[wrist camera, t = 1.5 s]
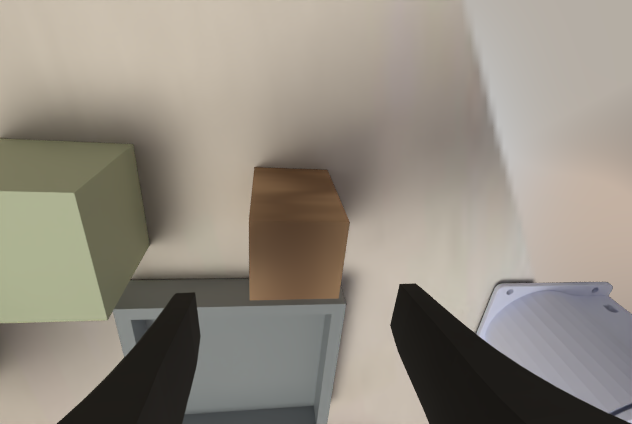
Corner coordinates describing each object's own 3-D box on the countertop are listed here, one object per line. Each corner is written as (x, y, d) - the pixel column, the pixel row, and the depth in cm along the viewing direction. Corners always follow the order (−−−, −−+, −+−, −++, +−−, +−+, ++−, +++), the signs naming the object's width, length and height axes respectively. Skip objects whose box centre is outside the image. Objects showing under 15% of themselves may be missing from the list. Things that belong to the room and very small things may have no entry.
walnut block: (327, 169, 19) (349, 222, 14) (320, 231, 21) (338, 298, 16) (254, 167, 18) (248, 220, 13) (254, 230, 20) (249, 300, 15)
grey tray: (338, 277, 23) (346, 303, 20) (321, 401, 29) (325, 432, 26) (128, 280, 21) (112, 309, 19) (156, 412, 27) (146, 447, 24)
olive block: (133, 143, 17) (74, 192, 12) (150, 244, 20) (107, 320, 15) (-1, 137, 16) (-129, 188, 11) (35, 243, 19) (-53, 324, 14)
